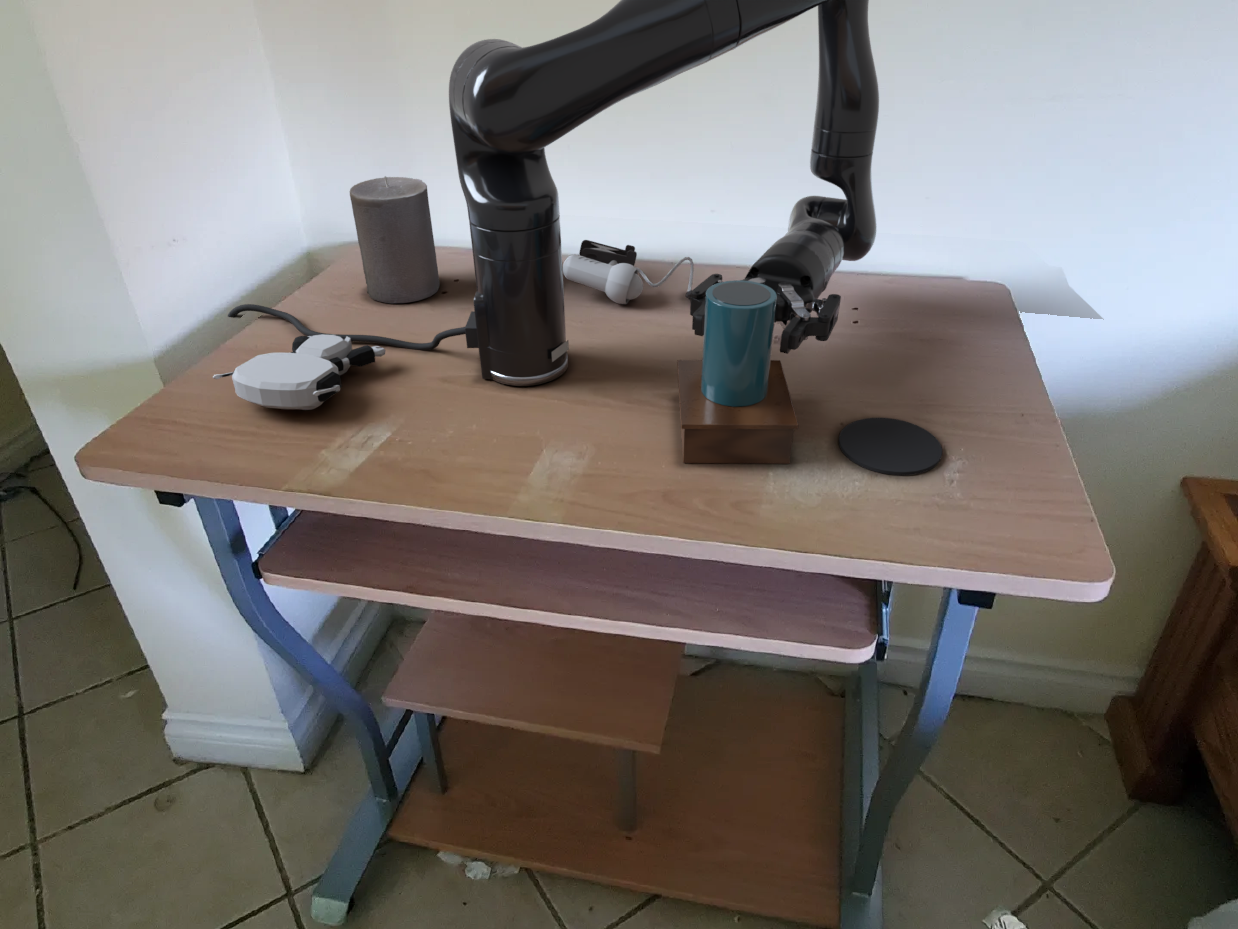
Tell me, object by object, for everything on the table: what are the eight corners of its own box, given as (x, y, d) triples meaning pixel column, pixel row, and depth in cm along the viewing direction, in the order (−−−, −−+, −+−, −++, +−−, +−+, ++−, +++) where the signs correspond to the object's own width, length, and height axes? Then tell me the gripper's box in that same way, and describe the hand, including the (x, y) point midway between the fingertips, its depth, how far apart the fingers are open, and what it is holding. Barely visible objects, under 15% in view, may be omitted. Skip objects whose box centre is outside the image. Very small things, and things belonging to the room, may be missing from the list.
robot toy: (304, 357, 101) (216, 412, 89) (297, 321, 99) (206, 372, 87) (396, 372, 98) (318, 430, 86) (391, 334, 96) (310, 389, 84)
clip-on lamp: (701, 302, 118) (579, 263, 120) (714, 259, 115) (588, 218, 117) (684, 331, 108) (552, 287, 110) (698, 284, 105) (561, 240, 107)
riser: (680, 465, 81) (681, 424, 78) (676, 397, 91) (677, 359, 89) (793, 465, 80) (798, 424, 78) (776, 398, 91) (780, 360, 88)
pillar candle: (352, 293, 115) (329, 180, 106) (406, 270, 121) (388, 161, 113) (403, 310, 110) (383, 193, 102) (456, 285, 117) (442, 173, 108)
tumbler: (702, 407, 81) (707, 307, 75) (699, 374, 86) (703, 279, 80) (771, 407, 80) (781, 307, 75) (763, 374, 86) (772, 279, 80)
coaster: (849, 475, 79) (849, 471, 79) (830, 420, 87) (831, 417, 87) (954, 475, 79) (955, 472, 79) (926, 420, 87) (926, 417, 86)
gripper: (731, 231, 93) (671, 285, 81) (862, 251, 88) (819, 311, 76) (727, 296, 97) (669, 356, 85) (852, 319, 92) (810, 386, 80)
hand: (740, 335), depth 81 cm, fingers open, 8 cm apart
